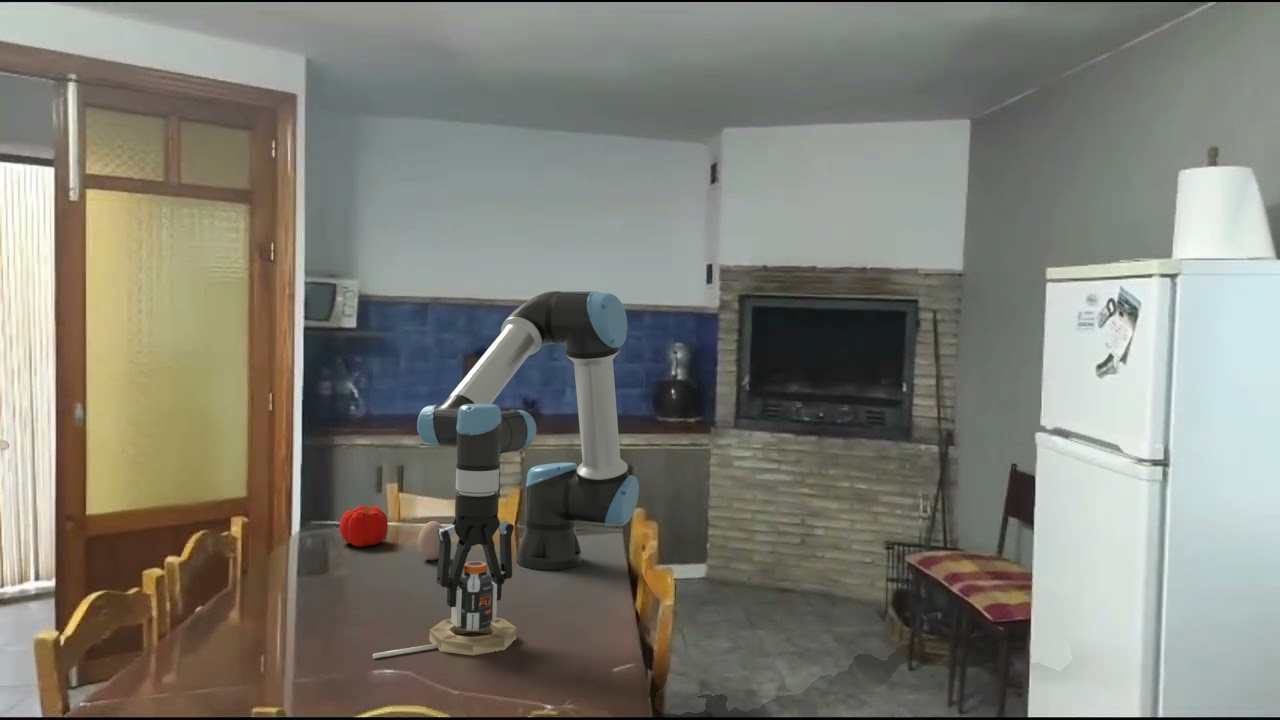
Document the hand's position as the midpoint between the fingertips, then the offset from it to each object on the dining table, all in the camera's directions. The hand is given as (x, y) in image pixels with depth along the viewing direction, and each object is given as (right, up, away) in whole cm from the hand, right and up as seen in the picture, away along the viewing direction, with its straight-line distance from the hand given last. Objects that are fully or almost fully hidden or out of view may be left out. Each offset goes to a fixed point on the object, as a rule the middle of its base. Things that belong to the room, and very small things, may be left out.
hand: (473, 621), depth 166 cm
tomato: (-39, +1, +65) cm, 76 cm away
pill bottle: (0, -1, 0) cm, 1 cm away
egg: (-19, -1, +53) cm, 56 cm away
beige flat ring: (0, -3, 0) cm, 3 cm away
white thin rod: (-10, -3, -7) cm, 13 cm away
